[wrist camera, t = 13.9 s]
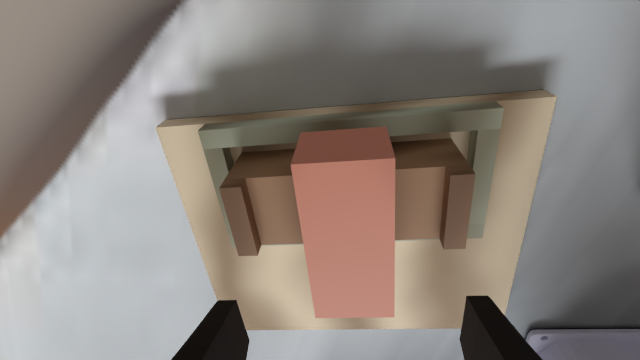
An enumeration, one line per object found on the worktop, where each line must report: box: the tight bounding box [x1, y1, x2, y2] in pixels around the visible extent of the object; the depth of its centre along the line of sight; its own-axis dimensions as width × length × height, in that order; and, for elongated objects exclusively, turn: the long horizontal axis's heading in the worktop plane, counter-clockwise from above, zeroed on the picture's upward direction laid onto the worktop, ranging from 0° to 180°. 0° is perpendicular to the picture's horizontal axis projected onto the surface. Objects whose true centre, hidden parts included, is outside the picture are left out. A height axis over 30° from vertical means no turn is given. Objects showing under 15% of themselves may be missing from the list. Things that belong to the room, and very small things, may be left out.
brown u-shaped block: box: [219, 138, 476, 256], centre depth 17 cm, size 11×4×4 cm, turn 96°
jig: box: [156, 90, 557, 330], centre depth 21 cm, size 20×16×2 cm
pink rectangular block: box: [291, 126, 395, 318], centre depth 15 cm, size 4×8×3 cm, turn 6°
